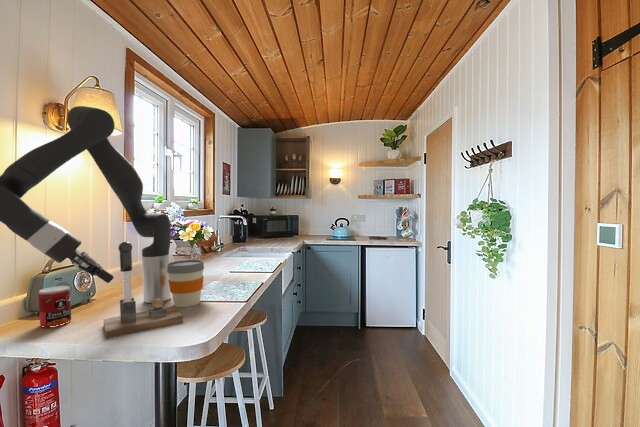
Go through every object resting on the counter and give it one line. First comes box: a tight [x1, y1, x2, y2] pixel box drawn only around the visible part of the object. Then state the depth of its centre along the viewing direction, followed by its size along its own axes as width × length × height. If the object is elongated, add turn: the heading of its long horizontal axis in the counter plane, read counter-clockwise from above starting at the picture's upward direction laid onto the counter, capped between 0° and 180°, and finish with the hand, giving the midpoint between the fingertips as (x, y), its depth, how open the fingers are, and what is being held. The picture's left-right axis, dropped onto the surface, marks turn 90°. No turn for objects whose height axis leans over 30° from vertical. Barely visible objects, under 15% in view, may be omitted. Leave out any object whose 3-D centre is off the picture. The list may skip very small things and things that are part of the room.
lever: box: [117, 241, 133, 303], centre depth 98 cm, size 4×4×20 cm
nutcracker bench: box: [103, 297, 184, 339], centre depth 101 cm, size 12×20×8 cm, turn 125°
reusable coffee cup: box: [167, 259, 205, 308], centre depth 121 cm, size 13×13×15 cm
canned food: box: [38, 285, 72, 327], centre depth 103 cm, size 8×8×11 cm
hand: (111, 279), depth 96 cm, fingers closed
